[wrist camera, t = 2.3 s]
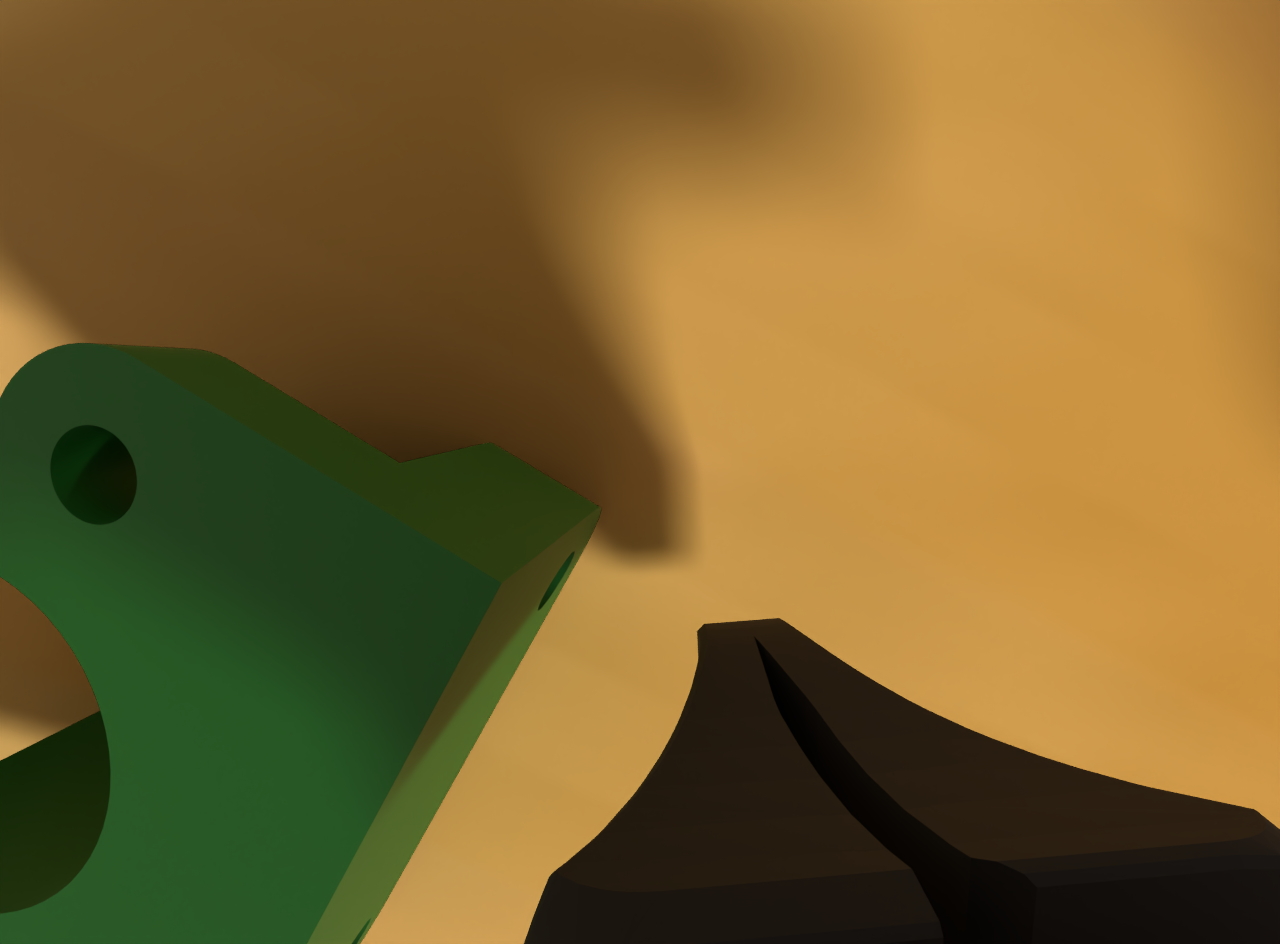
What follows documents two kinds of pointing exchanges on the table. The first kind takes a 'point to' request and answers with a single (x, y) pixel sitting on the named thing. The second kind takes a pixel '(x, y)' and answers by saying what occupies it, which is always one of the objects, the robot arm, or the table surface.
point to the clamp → (249, 647)
